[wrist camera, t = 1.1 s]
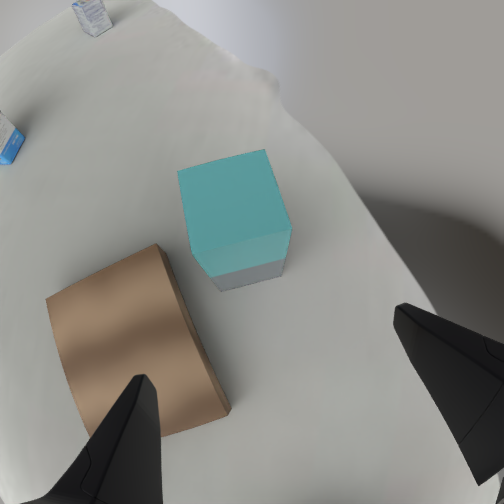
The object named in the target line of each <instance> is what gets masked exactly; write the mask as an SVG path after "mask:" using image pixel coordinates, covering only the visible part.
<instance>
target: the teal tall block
mask: <svg viewBox="0 0 504 504" xmlns="http://www.w3.org/2000/svg"><path fill="white" fill-rule="evenodd" d="M177 172H178V179H179V185H180V191H181V197H182V203H183V209H184V214H185V220H186V225H187V231H188V236H189V241H190V247H191V252H192V255H193V256H194V258H195V259H196V260H197V262H198V263H199V264H200V265H201V267H202V268H203V269H204V271H205V272H206V273H207V274H208V276H209V277H210V278H211V280H212V281H213V282H214V283H215V285H216V286H217V287H218V288H219V290H220V291H221V292H222V291H226V290H230V289H234V288H238V287H241V286H245V285H249V284H253V283H257V282H261V281H264V280H268V279H272V278H276V277H279V276H282V271H283V267H284V263H285V258H286V254H287V250H288V245H289V241H290V236H291V232H292V226H291V223H290V220H289V217H288V214H287V211H286V209H285V206H284V203H283V200H282V197H281V194H280V191H279V188H278V185H277V182H276V180H275V177H274V174H273V171H272V168H271V165H270V163H269V160H268V157H267V154H266V152H265V149H263V150H259V151H254V152H250V153H245V154H241V155H237V156H233V157H228V158H224V159H220V160H216V161H213V162H209V163H205V164H201V165H198V166H194V167H190V168H187V169H183V170H180V171H177Z"/></svg>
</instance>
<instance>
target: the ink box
mask: <svg viewBox="0 0 504 504" xmlns="http://www.w3.org/2000/svg"><path fill="white" fill-rule="evenodd" d="M24 139H25V137H24V136H23V135H22V134H21V133H20V132H19V131H18V130H17V129H16V127H15V126H14V125H13V124H12V123H11V122H10V121H9V120H8V119H7V118H6V117H5V115H4V114H3V113H2V112H1V111H0V164H11V163H12V162H13V160H14V158H15V156H16V154H17V152H18V150H19V148H20V146H21V145H22V143H23V141H24Z"/></svg>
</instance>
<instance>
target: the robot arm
mask: <svg viewBox="0 0 504 504" xmlns="http://www.w3.org/2000/svg"><path fill="white" fill-rule="evenodd" d="M393 325H394V329H395V331H396V333H397V335H398V337H399V339H400V341H401V343H402V345H403V347H404V349H405V351H406V353H407V356H408V358H409V360H410V361H411V363H412V365H413V367H414V368H415V370H416V371H417V373H418V375H419V376H420V378H421V380H422V381H423V383H424V385H425V386H426V388H427V390H428V392H429V393H430V395H431V397H432V398H433V400H434V402H435V404H436V405H437V407H438V409H439V411H440V412H441V414H442V416H443V418H444V420H445V421H446V423H447V425H448V427H449V429H450V431H451V432H452V434H453V436H454V438H455V440H456V442H457V444H458V446H459V448H460V450H461V452H462V454H463V456H464V458H465V460H466V462H467V464H468V466H469V468H470V470H471V472H472V474H473V476H474V478H475V481H476V483H477V484H478V486H480V485H481V484H483V483H484V482H485V481H487V480H488V479H490V478H491V477H492V476H494V475H495V474H496V473H498V472H499V471H500V470H501V469H502V468H504V344H503V343H500V342H497V341H495V340H493V339H490V338H488V337H486V336H483V335H481V334H479V333H476V332H474V331H472V330H469V329H467V328H465V327H462V326H460V325H457V324H455V323H453V322H451V321H448V320H446V319H444V318H441V317H439V316H437V315H434V314H432V313H430V312H427V311H425V310H423V309H420V308H418V307H416V306H413V305H411V304H408V303H402V304H400V305H397V306H396V307H395V312H394V321H393ZM21 504H163V494H162V472H161V427H160V418H159V408H158V398H157V391H156V388H155V386H154V385H153V383H152V382H151V381H150V379H149V378H148V376H147V375H146V374H138V375H134V376H133V378H132V379H131V380H130V382H129V383H128V385H127V386H126V387H125V389H124V390H123V392H122V393H121V394H120V396H119V397H118V399H117V400H116V402H115V403H114V404H113V406H112V407H111V409H110V410H109V412H108V413H107V414H106V416H105V417H104V419H103V420H102V422H101V423H100V425H99V426H98V427H97V429H96V430H95V432H94V433H93V435H92V436H91V438H90V439H89V441H88V442H87V444H86V446H84V448H83V449H82V451H81V452H80V454H79V455H78V456H77V458H76V459H75V461H74V462H73V463H72V465H71V466H70V467H69V468H68V470H67V471H66V472H65V473H64V474H63V476H62V477H61V478H60V479H59V480H58V482H57V483H56V484H55V485H54V486H53V488H52V489H51V490H50V491H49V492H48V493H47V494H46V495H44V496H43V497H41V498H39V499H36V500H32V501H28V502H25V503H21ZM496 504H504V477H503V480H502V483H501V487H500V491H499V494H498V497H497V500H496Z"/></svg>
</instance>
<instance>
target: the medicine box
mask: <svg viewBox="0 0 504 504" xmlns="http://www.w3.org/2000/svg"><path fill="white" fill-rule="evenodd" d="M72 7H73V9H74V12H75V14H76V16H77V18H78V20H79V22H80V24H81V26H82V28H83V30H84V32H86V33H88V34H90V35H92V36H94V37H97V36H98V35H100V34H102V33H103V32H105V31H107V30H108V29H110V28H112V27H113V25H112V22H111V20H110V18H109V15H108V13H107V11H106V8H105V6H104V4H103V1H102V0H78V1H76V2H75V3H74V4H72Z"/></svg>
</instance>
